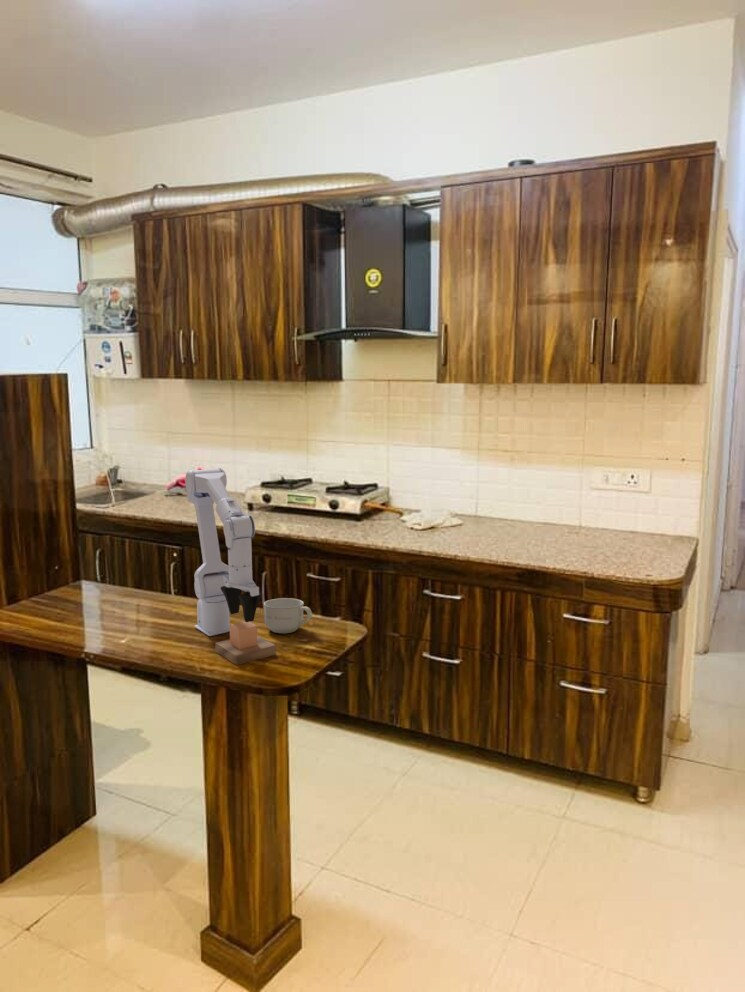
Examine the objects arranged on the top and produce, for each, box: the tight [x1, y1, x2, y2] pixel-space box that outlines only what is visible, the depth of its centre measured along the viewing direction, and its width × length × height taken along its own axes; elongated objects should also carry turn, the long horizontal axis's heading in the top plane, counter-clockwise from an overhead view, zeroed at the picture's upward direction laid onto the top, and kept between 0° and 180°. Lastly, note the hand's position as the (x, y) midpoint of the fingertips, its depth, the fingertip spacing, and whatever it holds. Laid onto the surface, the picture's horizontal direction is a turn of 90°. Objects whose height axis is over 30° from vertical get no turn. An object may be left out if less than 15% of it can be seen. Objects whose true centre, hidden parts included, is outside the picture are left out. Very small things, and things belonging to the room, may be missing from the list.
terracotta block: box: [229, 620, 258, 649], centre depth 189 cm, size 5×5×5 cm
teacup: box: [263, 597, 313, 634], centre depth 205 cm, size 14×11×8 cm
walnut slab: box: [214, 634, 277, 666], centre depth 190 cm, size 11×11×3 cm
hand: (241, 617), depth 188 cm, fingers open, 7 cm apart
